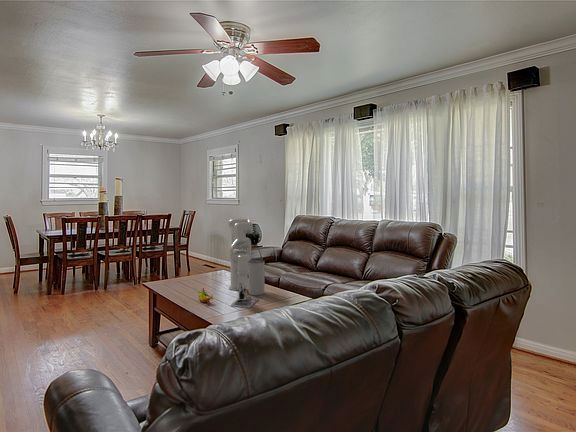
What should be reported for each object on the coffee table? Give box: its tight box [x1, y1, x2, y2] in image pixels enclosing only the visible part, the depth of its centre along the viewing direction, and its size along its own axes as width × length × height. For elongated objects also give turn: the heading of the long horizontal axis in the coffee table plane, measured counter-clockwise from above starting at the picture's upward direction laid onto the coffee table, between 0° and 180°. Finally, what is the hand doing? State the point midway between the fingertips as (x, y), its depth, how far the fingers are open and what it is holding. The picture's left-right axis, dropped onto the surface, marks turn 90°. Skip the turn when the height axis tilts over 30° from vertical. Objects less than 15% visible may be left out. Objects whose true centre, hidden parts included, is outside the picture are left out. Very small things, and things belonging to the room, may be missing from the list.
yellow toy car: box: [197, 287, 214, 305], centre depth 269 cm, size 6×18×10 cm, turn 36°
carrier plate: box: [230, 296, 259, 309], centre depth 267 cm, size 20×14×2 cm
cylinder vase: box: [248, 260, 266, 296], centre depth 291 cm, size 12×12×25 cm
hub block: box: [238, 291, 248, 300], centre depth 262 cm, size 5×5×5 cm
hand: (243, 297), depth 262 cm, fingers closed on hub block, 4 cm apart
